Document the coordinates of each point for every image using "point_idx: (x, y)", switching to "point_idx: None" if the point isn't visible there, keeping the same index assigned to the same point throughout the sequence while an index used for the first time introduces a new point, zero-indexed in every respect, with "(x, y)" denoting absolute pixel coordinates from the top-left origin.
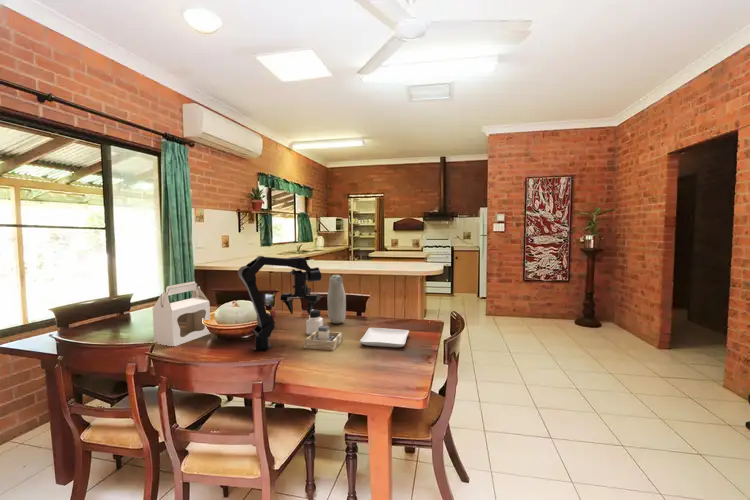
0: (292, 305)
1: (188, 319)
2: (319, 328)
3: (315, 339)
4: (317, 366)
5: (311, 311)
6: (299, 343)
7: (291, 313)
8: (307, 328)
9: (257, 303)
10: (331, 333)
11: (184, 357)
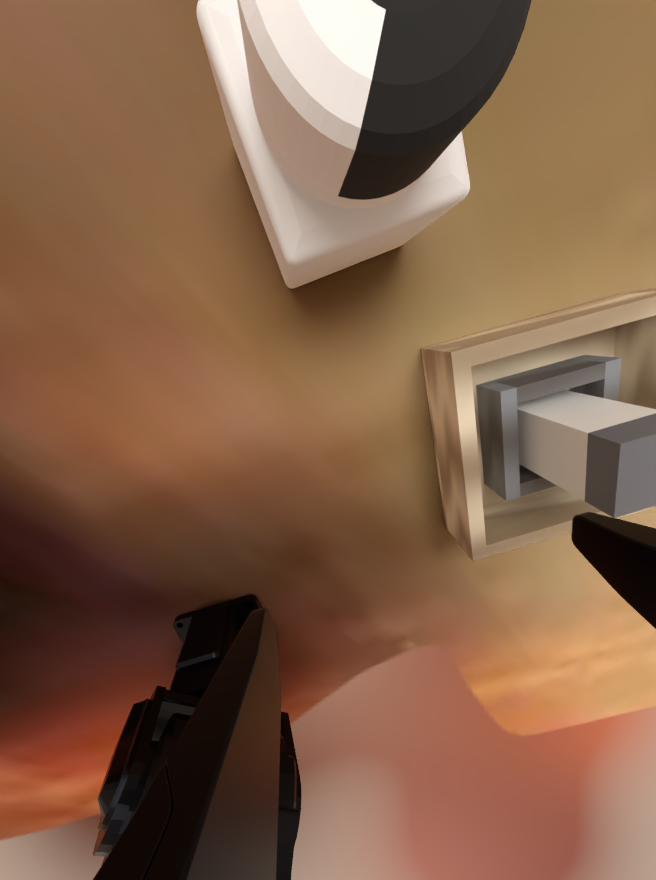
0: (214, 811)
1: None
2: (619, 512)
3: (512, 483)
4: (591, 635)
5: (378, 92)
6: (369, 482)
7: (272, 649)
8: (301, 278)
9: None
10: (597, 329)
11: (7, 830)
